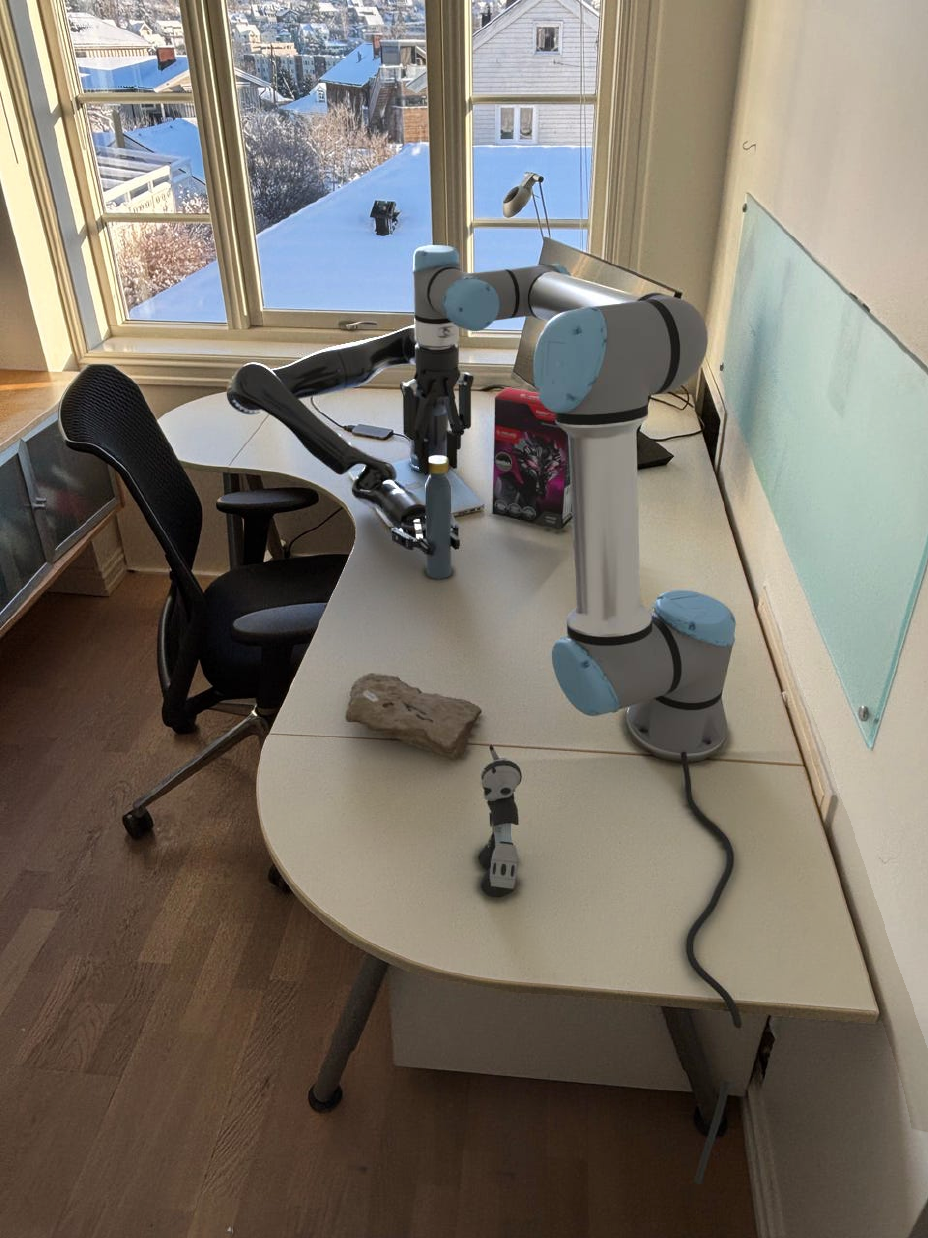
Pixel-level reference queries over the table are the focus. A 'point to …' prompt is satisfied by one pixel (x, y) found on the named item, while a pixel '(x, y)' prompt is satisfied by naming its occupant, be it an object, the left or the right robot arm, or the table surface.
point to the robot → (500, 825)
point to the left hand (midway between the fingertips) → (445, 548)
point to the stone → (412, 714)
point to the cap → (438, 464)
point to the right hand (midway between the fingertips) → (437, 468)
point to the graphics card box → (530, 461)
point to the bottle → (438, 524)
